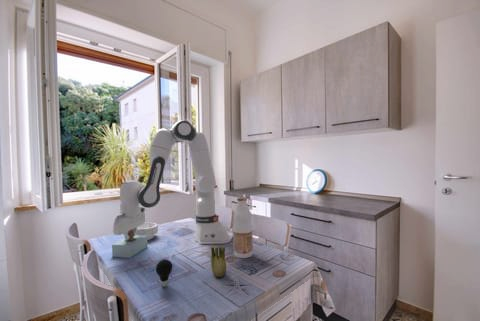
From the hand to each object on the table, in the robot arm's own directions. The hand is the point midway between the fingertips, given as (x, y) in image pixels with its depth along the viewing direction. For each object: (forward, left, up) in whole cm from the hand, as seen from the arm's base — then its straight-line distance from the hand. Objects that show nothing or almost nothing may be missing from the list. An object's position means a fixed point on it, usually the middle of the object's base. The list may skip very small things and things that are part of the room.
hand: (130, 237), depth 117 cm
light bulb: (-35, +27, -7) cm, 45 cm away
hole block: (0, 0, -7) cm, 7 cm away
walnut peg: (0, 0, -6) cm, 6 cm away
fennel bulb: (-53, +16, -7) cm, 56 cm away
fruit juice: (-59, -5, -7) cm, 60 cm away
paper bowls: (+5, -19, -7) cm, 21 cm away
